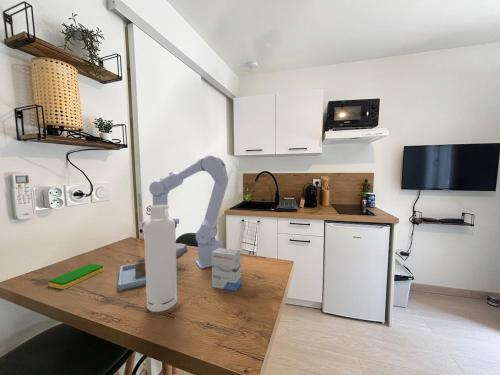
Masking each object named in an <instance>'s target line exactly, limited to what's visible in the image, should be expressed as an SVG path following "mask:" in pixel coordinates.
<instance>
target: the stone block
mask: <svg viewBox="0 0 500 375" xmlns="http://www.w3.org/2000/svg"><path fill="white" fill-rule="evenodd" d="M187 250H188V244H187V243H186V244H185V243H181V242H180V243H177V242H176V259H177V258H178V257H180V256H181V255H182V254H184V253H185V252H186V251H187Z"/></svg>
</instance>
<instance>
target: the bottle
mask: <svg viewBox="0 0 500 375" xmlns="http://www.w3.org/2000/svg"><path fill="white" fill-rule="evenodd" d="M169 207H170V206H169V205H154V206H153V205H151V206H150V205H149V210H150V212H149V213H150V216H149V217H150V218H149V219H148V220H146V221H147V222H146V223H145V224H144V227H143V237H144V238H143V240H144V241H143V242H144V259H145V270H146V285H145V291H146V292H145V294H146V295H145V296H146V308H147V310H149V311H150V312H153V313H158V312H164V311H166V310H168V309H171V308H173V307H174V306H175V305H176V303H178V278H177V277H178V274H177V273H178V271H177V268H178V267H177V258H176V243H177V240H176V229H175V222H174V220H172V219H173V218H171V217H170V216H169Z"/></svg>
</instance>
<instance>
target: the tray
mask: <svg viewBox="0 0 500 375" xmlns="http://www.w3.org/2000/svg"><path fill="white" fill-rule="evenodd" d="M118 276H119V277H118V282H117V290H118V292H122V291H127V290H131V289H135V288H139V287H144V286H146V276H143V277H139V278H136V273H135V263H131V264H125V265H121V266H120V267H119V275H118Z"/></svg>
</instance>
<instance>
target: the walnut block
mask: <svg viewBox="0 0 500 375" xmlns="http://www.w3.org/2000/svg"><path fill="white" fill-rule="evenodd" d="M134 264H135V273H136V278H139V277H143V276H146V270H145V258H140V259H135V260H134Z"/></svg>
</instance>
